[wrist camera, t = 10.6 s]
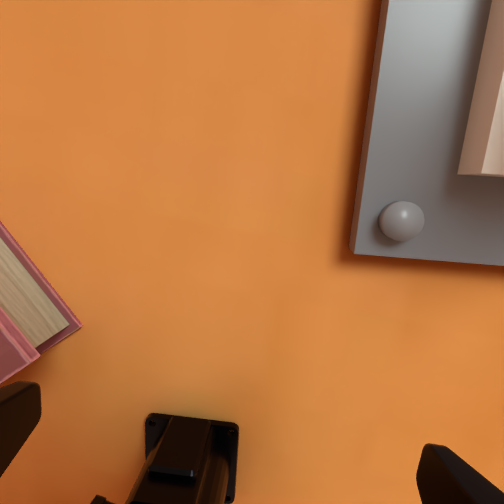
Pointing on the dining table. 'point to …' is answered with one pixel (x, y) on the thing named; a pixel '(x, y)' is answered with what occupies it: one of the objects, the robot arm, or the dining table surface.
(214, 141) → the dining table surface
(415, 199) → the tower base
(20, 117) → the dining table surface
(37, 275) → the book
